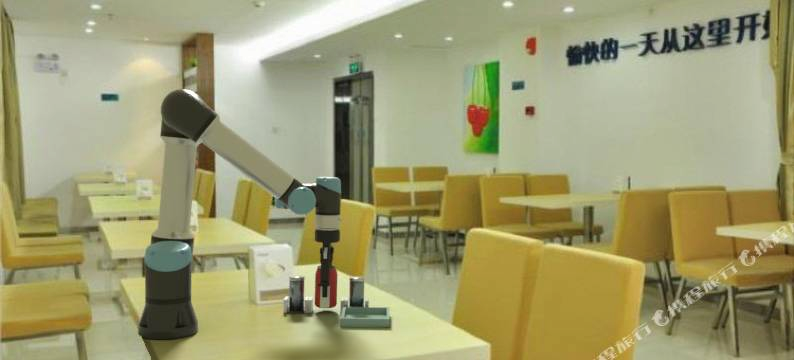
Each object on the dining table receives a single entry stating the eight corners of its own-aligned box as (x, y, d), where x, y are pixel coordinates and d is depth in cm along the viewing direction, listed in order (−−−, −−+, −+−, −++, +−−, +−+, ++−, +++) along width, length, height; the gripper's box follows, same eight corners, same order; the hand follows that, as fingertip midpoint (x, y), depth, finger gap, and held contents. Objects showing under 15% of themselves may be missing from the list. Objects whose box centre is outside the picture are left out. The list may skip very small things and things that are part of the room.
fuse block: (368, 314, 209) (368, 279, 208) (283, 313, 209) (283, 278, 208) (368, 310, 214) (369, 276, 214) (285, 309, 214) (286, 275, 213)
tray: (389, 327, 195) (389, 319, 195) (340, 326, 195) (340, 318, 195) (389, 315, 209) (389, 307, 208) (343, 314, 208) (343, 306, 208)
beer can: (333, 309, 207) (334, 269, 207) (311, 307, 209) (312, 267, 208) (339, 304, 214) (340, 265, 213) (318, 303, 215) (319, 264, 214)
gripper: (337, 233, 200) (336, 313, 202) (342, 224, 220) (340, 297, 221) (311, 232, 200) (309, 312, 201) (318, 224, 220) (316, 297, 221)
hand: (325, 304), depth 211 cm, fingers closed on beer can, 7 cm apart
